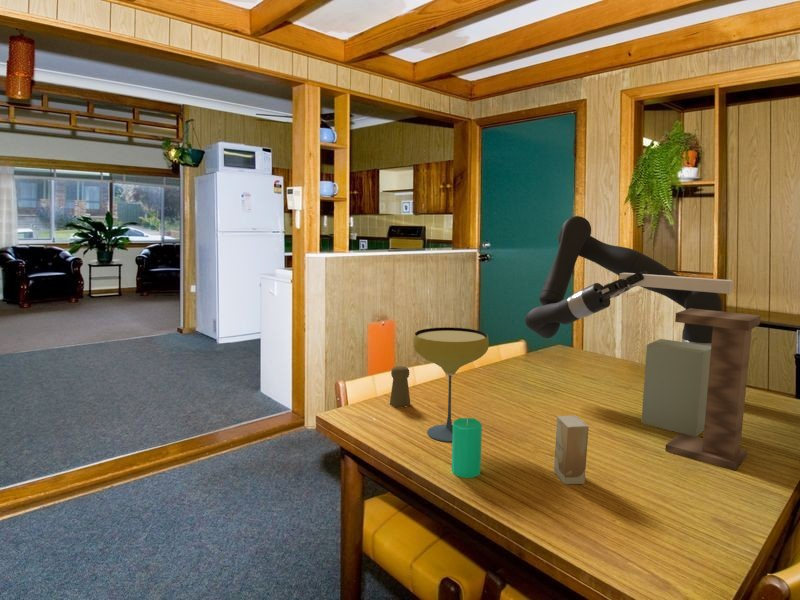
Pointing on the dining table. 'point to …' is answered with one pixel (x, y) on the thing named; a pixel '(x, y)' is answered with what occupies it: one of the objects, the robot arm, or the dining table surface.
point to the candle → (466, 447)
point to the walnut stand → (721, 389)
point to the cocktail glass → (449, 359)
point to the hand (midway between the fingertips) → (644, 274)
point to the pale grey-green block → (676, 386)
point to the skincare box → (571, 449)
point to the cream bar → (684, 283)
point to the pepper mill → (400, 387)
